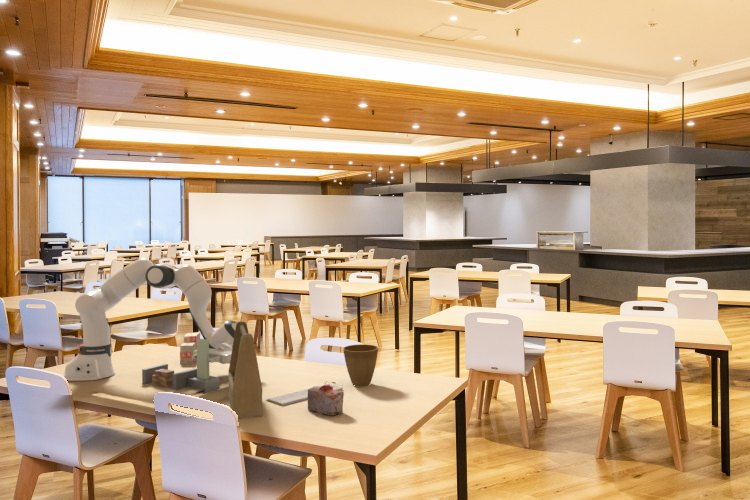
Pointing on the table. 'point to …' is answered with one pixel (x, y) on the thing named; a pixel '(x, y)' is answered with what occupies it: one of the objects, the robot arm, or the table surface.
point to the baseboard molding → (296, 396)
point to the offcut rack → (177, 378)
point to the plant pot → (360, 363)
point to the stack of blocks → (188, 347)
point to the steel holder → (204, 384)
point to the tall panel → (203, 359)
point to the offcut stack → (163, 378)
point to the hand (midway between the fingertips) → (201, 359)
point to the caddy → (244, 375)
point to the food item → (325, 400)
